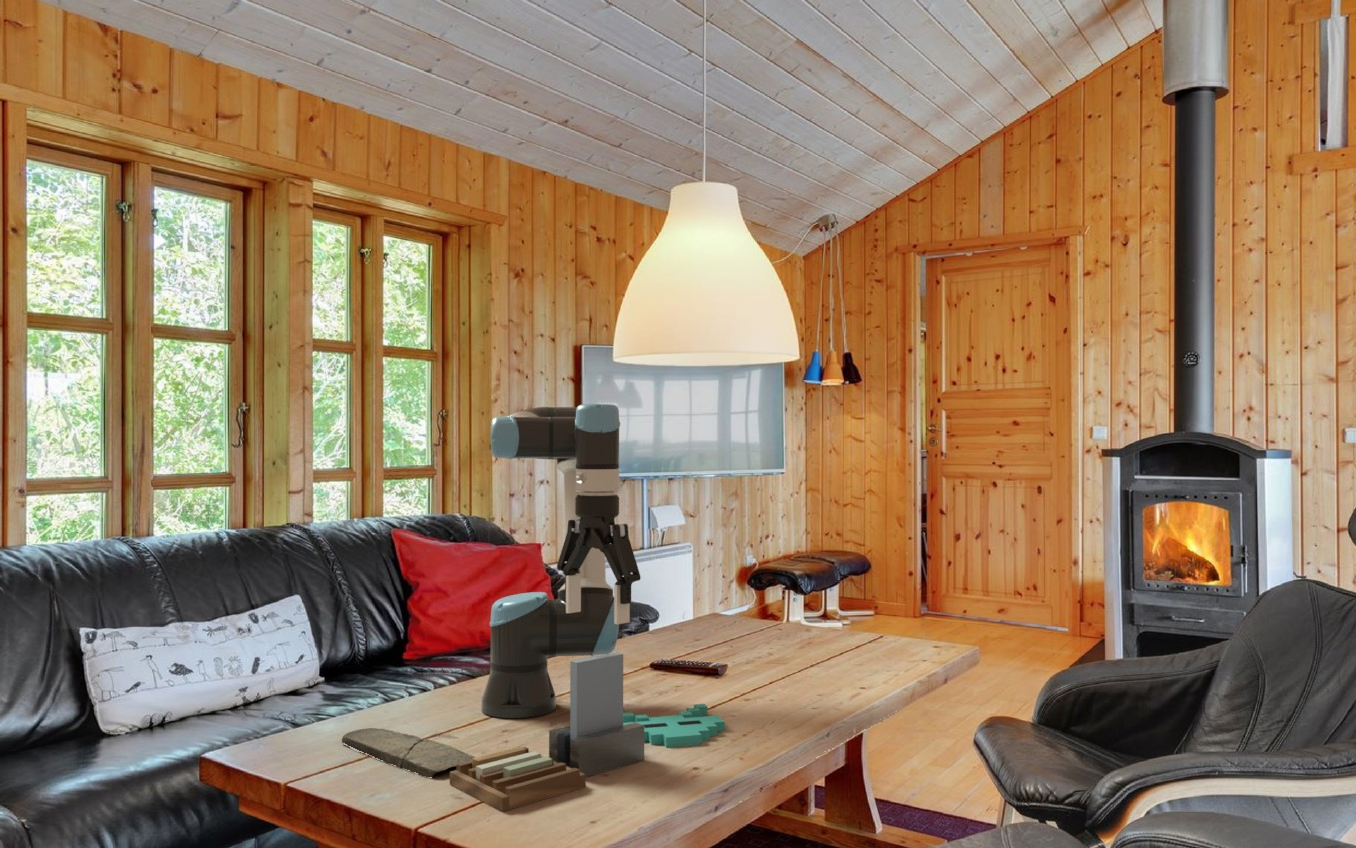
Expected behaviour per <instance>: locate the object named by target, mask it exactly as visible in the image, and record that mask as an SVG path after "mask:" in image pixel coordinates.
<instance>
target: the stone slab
mask: <svg viewBox="0 0 1356 848" xmlns="http://www.w3.org/2000/svg"><path fill="white" fill-rule="evenodd" d="M341 743H342V744H343V743H345V744H347V745H348V746H351V747H353V748H355V749H357V750H359V751H362V752H364V753H367V754H369V755H372V756H374V757H375V758H378V759H380V760H383V761H385V762H386V763H385V764H387V763H390V764H393V765H396V766H397V767H396V768H398V767H402V768H405V769H407V770H410V771H412V772H416V773H418V774H419V775H418V776H420V775H423V776H427V777H434V775H436V774H437V773H440V772H442V771H446V770H447V769H450V768H454V767H456V766H457V764H458V763H462V762H466V761H470V760H472V758H476V757H477V756H476V757H475V756H473V755H472V754H468V752H465V751H463V750H459V749H458V748H456V747H453V746H452V745H451V746H450V745H448V744H445V743H442V742H439V741H435V740H432V739H423V738H421V737H419V736H416V735H413V734H407V733H404V732H403V733H402V732H400V731H399V732H398V731H393V730H391V729H390V730H389V729H385V728H376V727H375V728H374V727H368V728H362V729H355V730H352V731H349V732H347V733H345V734H344V735H343V736H342V737H341ZM390 764H389V765H390ZM393 765H392V766H393ZM402 768H401V769H402ZM407 770H406V771H407ZM412 772H411V773H412ZM423 776H422V777H423ZM427 777H426V778H427Z"/></svg>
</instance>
